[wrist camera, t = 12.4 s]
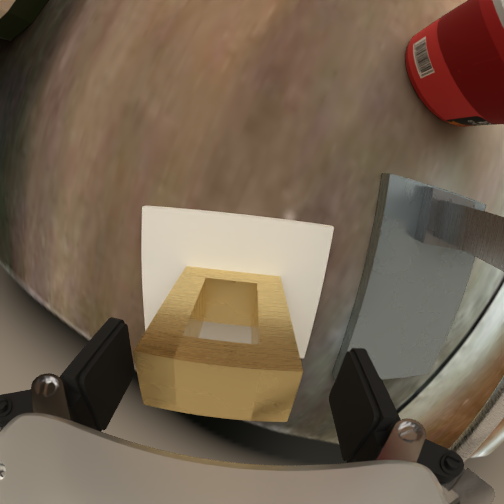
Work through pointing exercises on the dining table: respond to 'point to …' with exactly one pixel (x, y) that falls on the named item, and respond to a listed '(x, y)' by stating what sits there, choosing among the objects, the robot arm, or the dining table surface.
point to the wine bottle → (18, 16)
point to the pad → (235, 260)
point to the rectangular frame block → (221, 349)
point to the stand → (422, 285)
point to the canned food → (461, 64)
